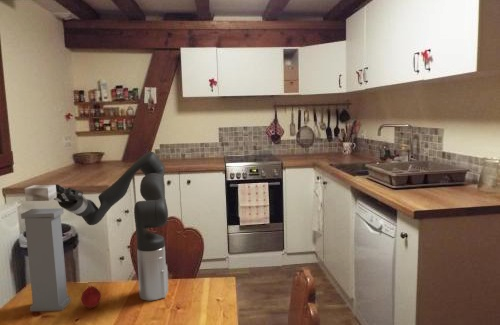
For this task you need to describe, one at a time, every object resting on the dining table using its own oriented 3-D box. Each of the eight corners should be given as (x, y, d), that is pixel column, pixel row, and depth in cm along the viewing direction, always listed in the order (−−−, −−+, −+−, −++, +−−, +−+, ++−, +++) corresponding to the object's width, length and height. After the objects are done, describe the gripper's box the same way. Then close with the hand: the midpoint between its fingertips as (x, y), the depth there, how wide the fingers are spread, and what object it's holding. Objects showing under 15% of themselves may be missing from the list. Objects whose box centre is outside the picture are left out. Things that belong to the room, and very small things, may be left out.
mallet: (68, 191, 126) (67, 180, 125) (48, 200, 113) (47, 188, 112) (48, 191, 126) (47, 180, 125) (25, 201, 112) (24, 188, 112)
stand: (70, 300, 123) (63, 208, 118) (62, 310, 117) (53, 213, 113) (40, 301, 122) (31, 209, 118) (30, 311, 116) (20, 214, 112)
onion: (104, 303, 121) (103, 280, 120) (95, 313, 115) (94, 289, 114) (88, 303, 121) (86, 280, 120) (78, 312, 116) (76, 288, 114)
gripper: (56, 192, 138) (32, 176, 122) (93, 191, 139) (74, 176, 123) (52, 211, 135) (27, 198, 119) (90, 211, 136) (70, 197, 120)
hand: (51, 187), depth 121 cm, fingers closed on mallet, 2 cm apart
